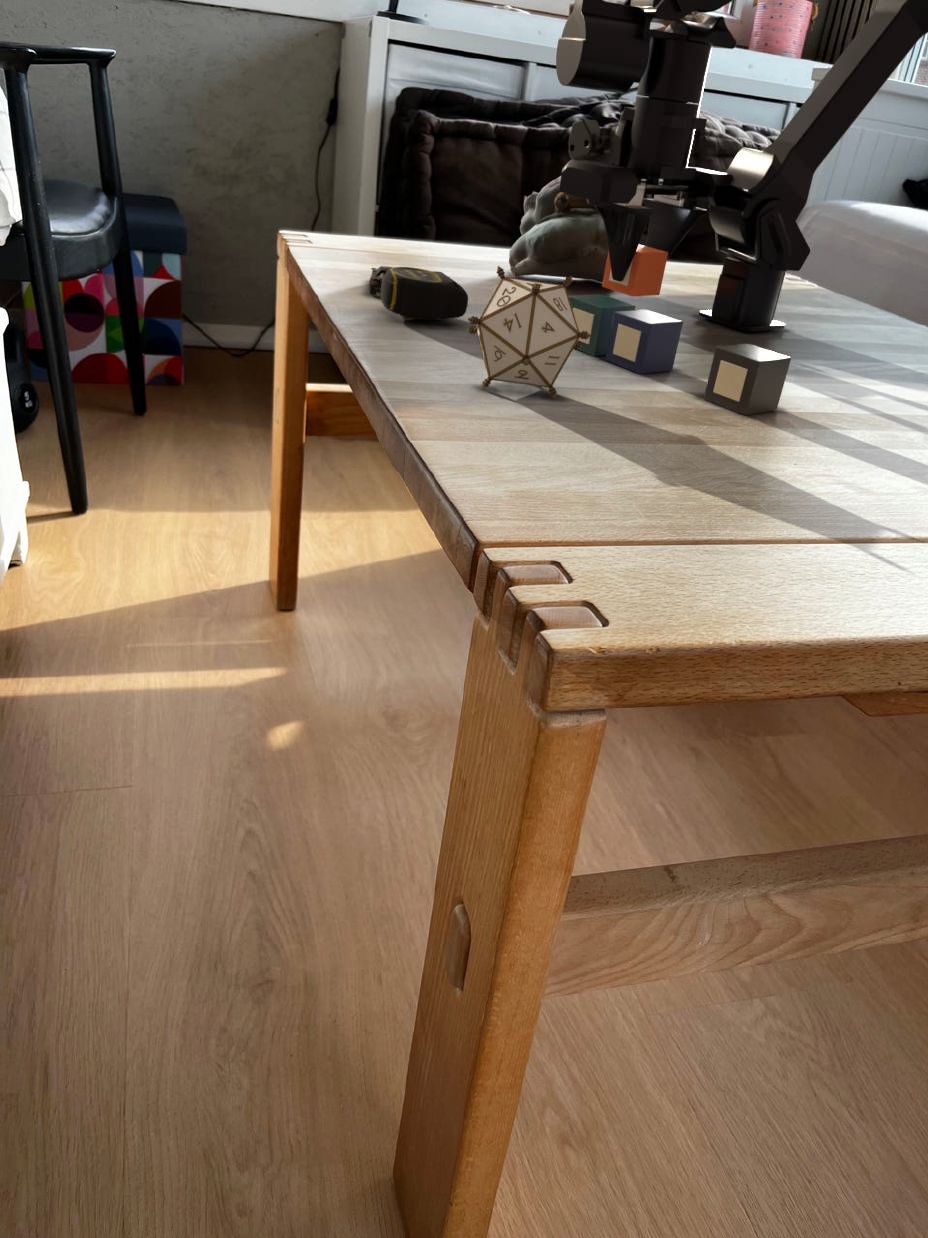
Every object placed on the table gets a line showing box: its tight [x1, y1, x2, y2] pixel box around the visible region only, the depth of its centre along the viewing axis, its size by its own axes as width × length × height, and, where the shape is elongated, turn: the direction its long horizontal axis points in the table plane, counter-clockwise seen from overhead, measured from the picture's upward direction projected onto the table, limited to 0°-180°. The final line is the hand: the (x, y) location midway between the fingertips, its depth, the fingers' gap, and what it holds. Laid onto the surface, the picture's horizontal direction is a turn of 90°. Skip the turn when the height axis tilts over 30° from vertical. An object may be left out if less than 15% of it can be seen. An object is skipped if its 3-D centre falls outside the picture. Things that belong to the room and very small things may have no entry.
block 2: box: [604, 308, 684, 375], centre depth 83 cm, size 4×4×4 cm
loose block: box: [601, 243, 668, 297], centre depth 98 cm, size 4×4×4 cm
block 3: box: [703, 343, 792, 416], centre depth 77 cm, size 4×4×4 cm
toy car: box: [368, 265, 395, 296], centre depth 97 cm, size 8×4×2 cm, turn 2°
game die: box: [466, 265, 591, 399], centre depth 72 cm, size 9×8×10 cm
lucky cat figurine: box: [508, 175, 609, 284], centre depth 112 cm, size 15×12×14 cm
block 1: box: [568, 293, 636, 357], centre depth 87 cm, size 4×4×4 cm
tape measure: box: [380, 266, 469, 321], centre depth 88 cm, size 7×7×4 cm
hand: (632, 279), depth 99 cm, fingers closed on loose block, 4 cm apart
